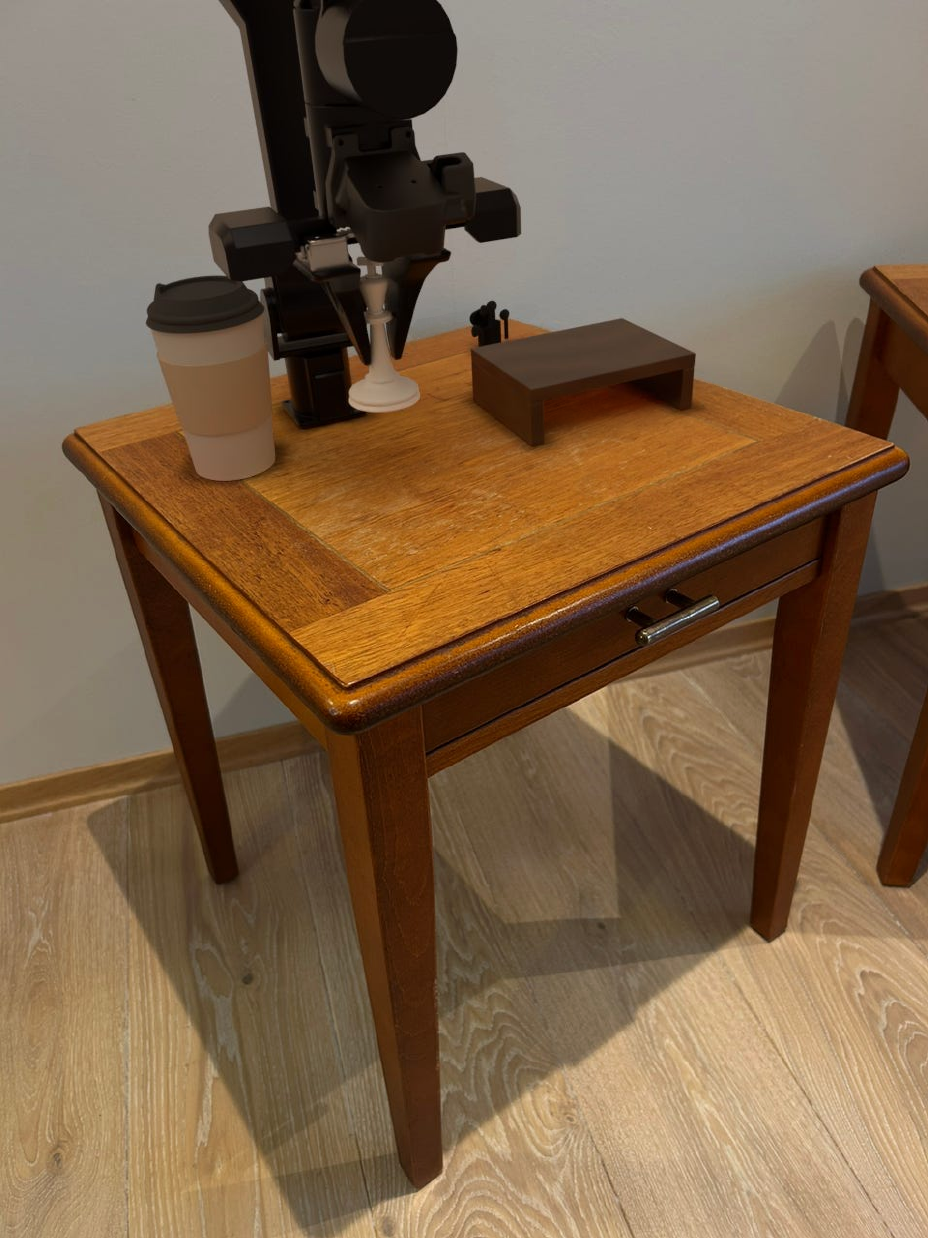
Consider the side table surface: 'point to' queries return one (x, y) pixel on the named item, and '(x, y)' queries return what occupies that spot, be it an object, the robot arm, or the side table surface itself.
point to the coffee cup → (216, 373)
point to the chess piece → (380, 353)
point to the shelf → (576, 371)
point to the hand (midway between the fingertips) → (381, 361)
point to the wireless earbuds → (488, 324)
